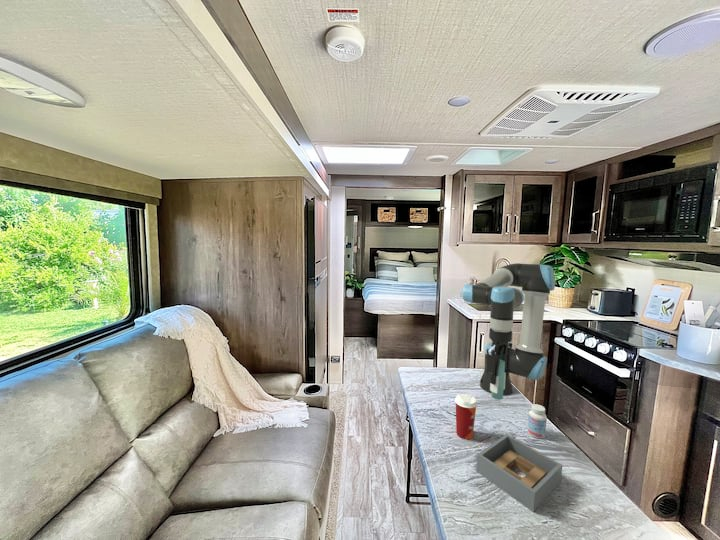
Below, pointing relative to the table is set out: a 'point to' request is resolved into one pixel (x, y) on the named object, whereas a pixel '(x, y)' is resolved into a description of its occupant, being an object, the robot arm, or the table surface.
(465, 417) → the coffee cup
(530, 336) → the robot arm
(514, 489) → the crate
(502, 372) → the peg
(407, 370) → the table surface
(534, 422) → the pill bottle
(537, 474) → the bore block
